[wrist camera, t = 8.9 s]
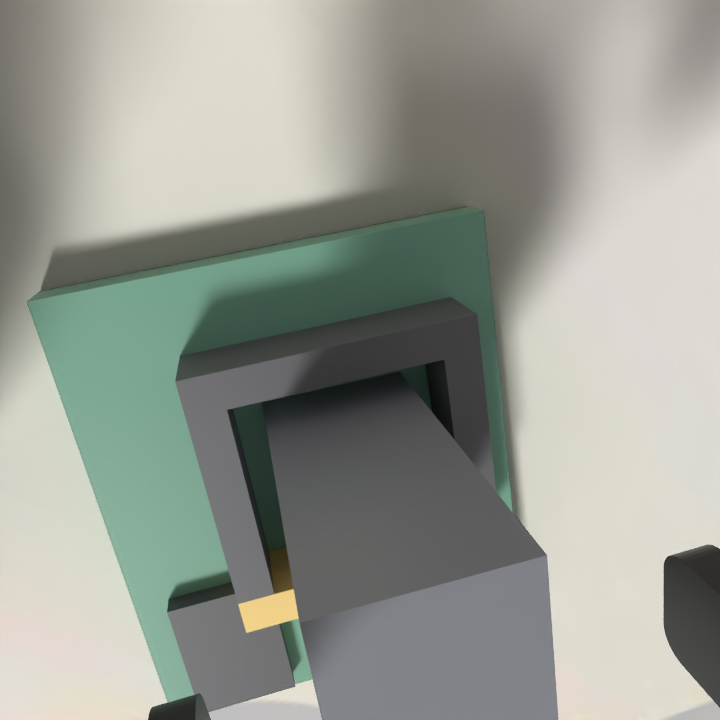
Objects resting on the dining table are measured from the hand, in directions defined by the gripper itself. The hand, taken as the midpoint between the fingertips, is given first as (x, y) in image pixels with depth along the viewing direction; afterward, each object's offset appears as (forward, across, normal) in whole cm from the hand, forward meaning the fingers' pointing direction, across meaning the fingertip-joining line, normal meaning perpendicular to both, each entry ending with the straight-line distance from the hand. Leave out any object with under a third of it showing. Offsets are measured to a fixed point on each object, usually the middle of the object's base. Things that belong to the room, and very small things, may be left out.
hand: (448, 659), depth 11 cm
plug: (+9, 0, 0) cm, 9 cm away
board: (+10, +1, +2) cm, 10 cm away
